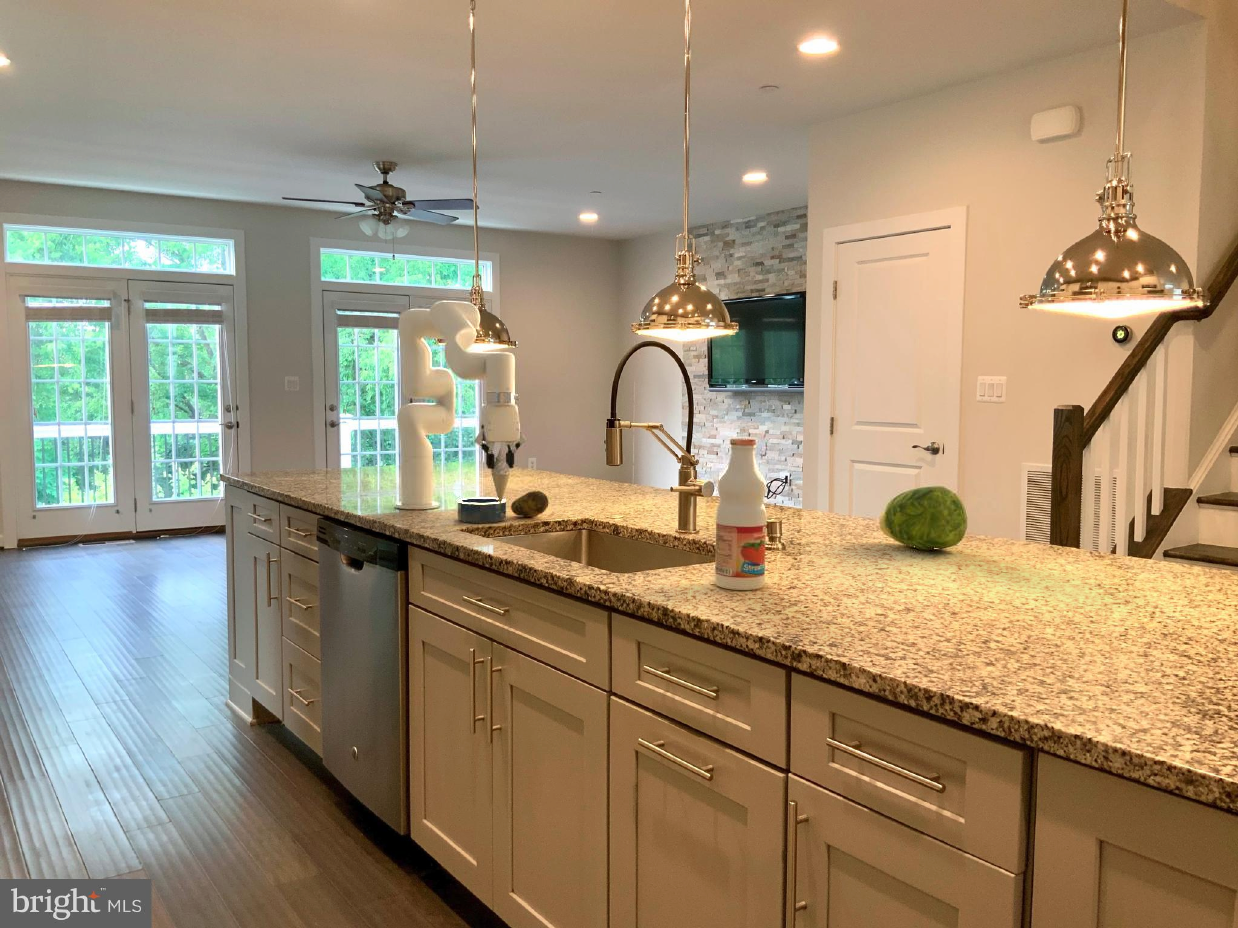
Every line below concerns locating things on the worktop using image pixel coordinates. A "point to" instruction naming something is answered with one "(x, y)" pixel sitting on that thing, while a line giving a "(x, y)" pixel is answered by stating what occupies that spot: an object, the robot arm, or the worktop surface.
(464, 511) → the bowl
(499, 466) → the ice cream cone
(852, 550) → the worktop surface
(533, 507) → the potato
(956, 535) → the lettuce
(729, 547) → the fruit juice
